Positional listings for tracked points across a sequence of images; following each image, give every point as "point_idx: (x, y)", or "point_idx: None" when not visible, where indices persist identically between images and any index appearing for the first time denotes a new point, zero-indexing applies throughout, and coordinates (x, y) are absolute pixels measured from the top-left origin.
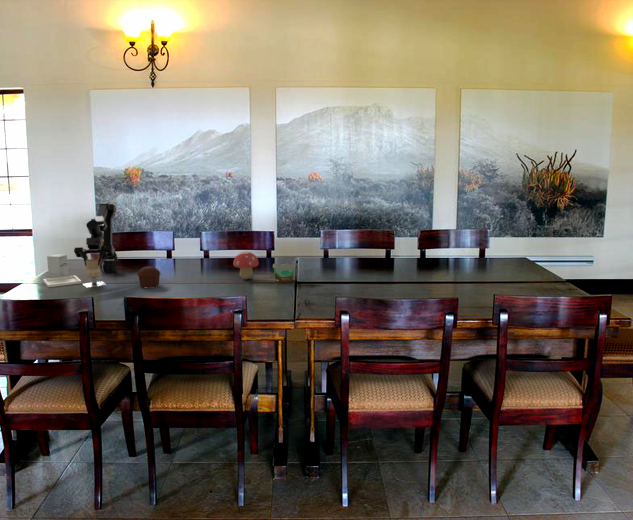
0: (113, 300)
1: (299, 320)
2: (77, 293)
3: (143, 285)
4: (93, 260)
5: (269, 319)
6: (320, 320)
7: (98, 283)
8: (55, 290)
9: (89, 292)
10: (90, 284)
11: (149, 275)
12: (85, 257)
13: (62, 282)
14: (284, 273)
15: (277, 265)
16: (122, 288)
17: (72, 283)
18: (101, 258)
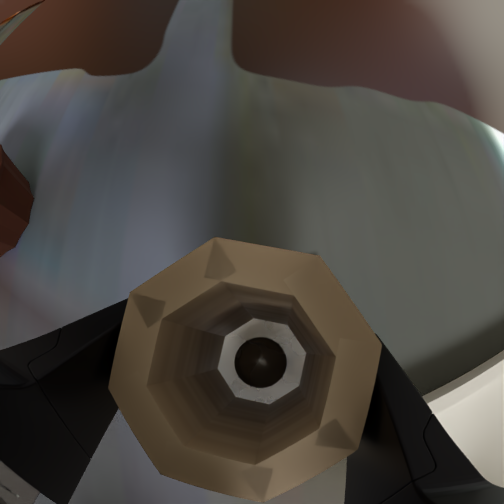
0: (182, 34)
1: (17, 13)
2: (354, 151)
3: (23, 182)
4: (224, 451)
5: (31, 7)
6: (7, 18)
7: (234, 378)
8: (492, 273)
9: (286, 153)
10: (297, 361)
11: None
12: (406, 442)
13: (479, 455)
14: None
15: None
16: (101, 201)
17: (430, 397)
18: (55, 338)
